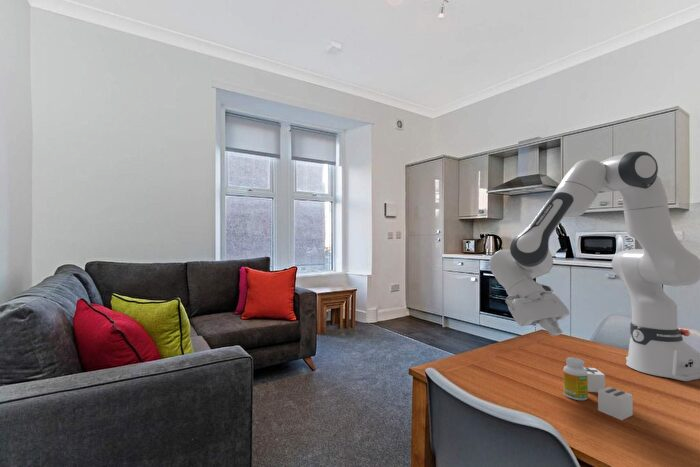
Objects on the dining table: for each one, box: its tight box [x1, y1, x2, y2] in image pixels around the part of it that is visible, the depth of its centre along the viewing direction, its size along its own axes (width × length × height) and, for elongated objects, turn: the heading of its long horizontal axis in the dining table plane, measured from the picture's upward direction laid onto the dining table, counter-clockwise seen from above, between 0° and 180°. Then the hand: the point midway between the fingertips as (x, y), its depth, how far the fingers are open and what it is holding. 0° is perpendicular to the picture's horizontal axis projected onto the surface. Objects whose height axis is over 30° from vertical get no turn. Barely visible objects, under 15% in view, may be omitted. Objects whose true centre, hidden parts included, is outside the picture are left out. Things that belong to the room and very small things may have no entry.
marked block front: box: [597, 386, 634, 421], centre depth 83 cm, size 5×5×5 cm
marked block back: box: [583, 366, 606, 393], centre depth 96 cm, size 5×5×5 cm
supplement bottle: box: [563, 356, 589, 401], centre depth 91 cm, size 5×5×10 cm
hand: (557, 334), depth 96 cm, fingers closed
